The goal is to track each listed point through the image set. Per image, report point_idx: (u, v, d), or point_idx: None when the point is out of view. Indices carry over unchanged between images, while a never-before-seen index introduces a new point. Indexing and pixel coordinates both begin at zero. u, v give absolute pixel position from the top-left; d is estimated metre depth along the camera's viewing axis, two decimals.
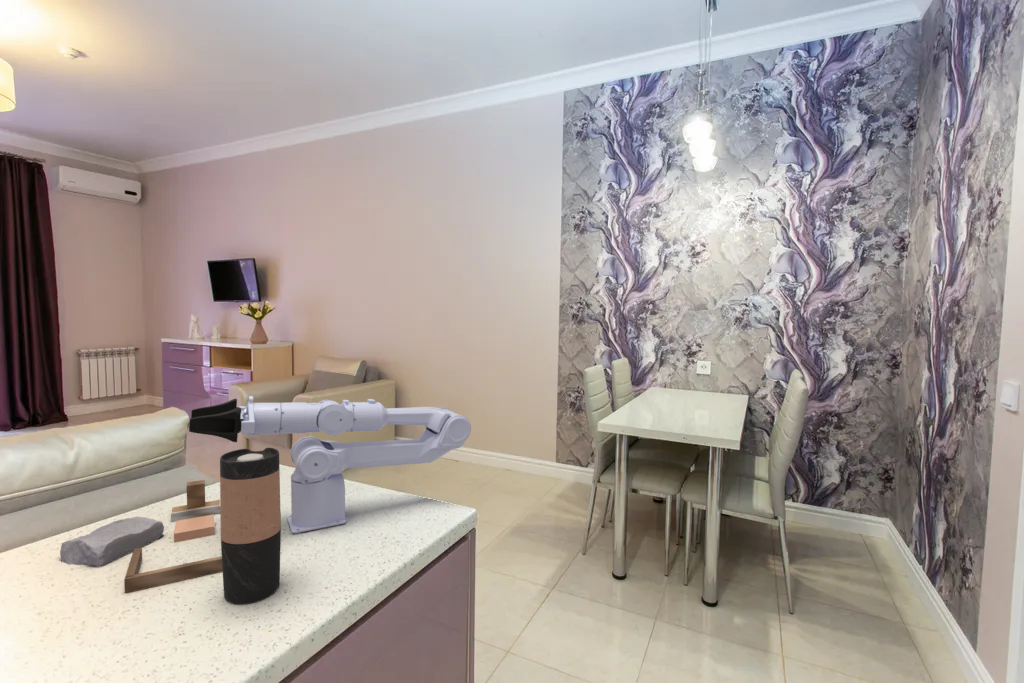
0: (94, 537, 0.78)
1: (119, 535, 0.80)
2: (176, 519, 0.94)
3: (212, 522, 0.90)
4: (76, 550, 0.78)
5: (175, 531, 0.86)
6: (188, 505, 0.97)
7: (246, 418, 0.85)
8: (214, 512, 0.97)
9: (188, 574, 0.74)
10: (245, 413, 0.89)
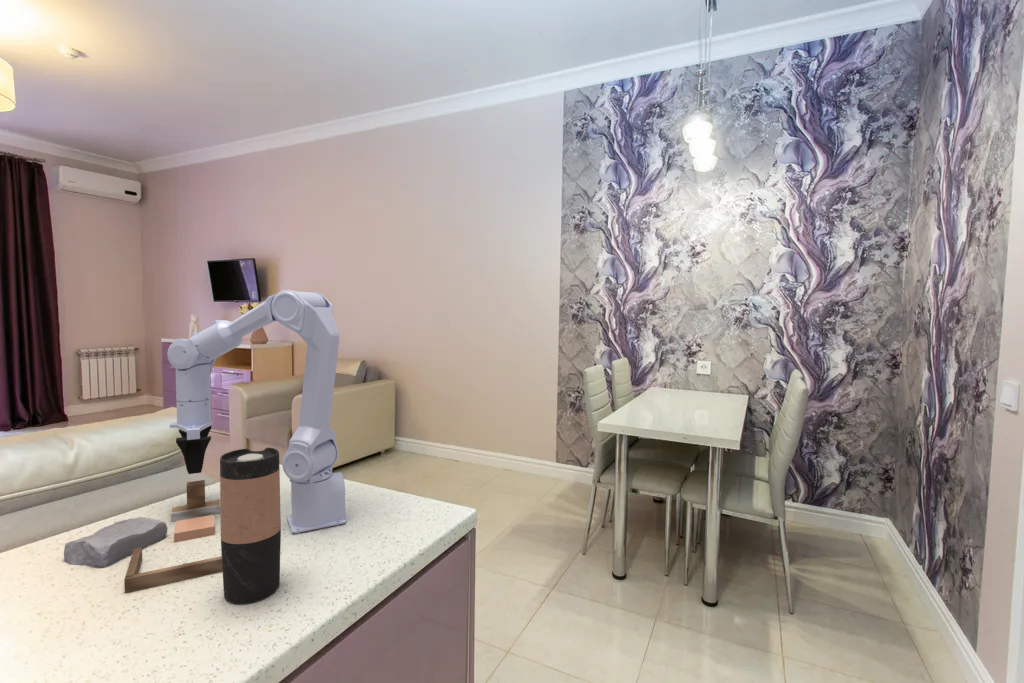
0: (98, 538, 0.78)
1: (123, 536, 0.80)
2: (176, 519, 0.94)
3: (212, 522, 0.90)
4: (80, 550, 0.78)
5: (175, 531, 0.86)
6: (188, 505, 0.97)
7: None
8: (214, 512, 0.97)
9: (188, 574, 0.74)
10: None
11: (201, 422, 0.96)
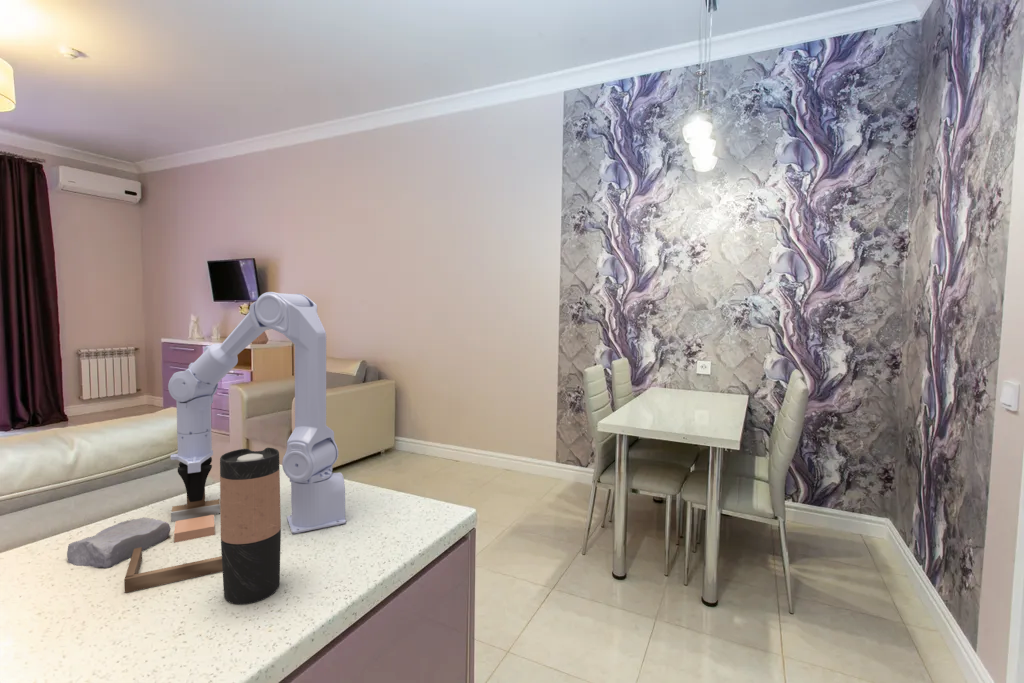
0: (101, 538, 0.78)
1: (126, 536, 0.80)
2: (176, 518, 0.94)
3: (212, 522, 0.90)
4: (84, 551, 0.78)
5: (175, 531, 0.86)
6: (188, 504, 0.97)
7: None
8: (214, 511, 0.97)
9: (188, 574, 0.74)
10: None
11: (202, 454, 0.96)
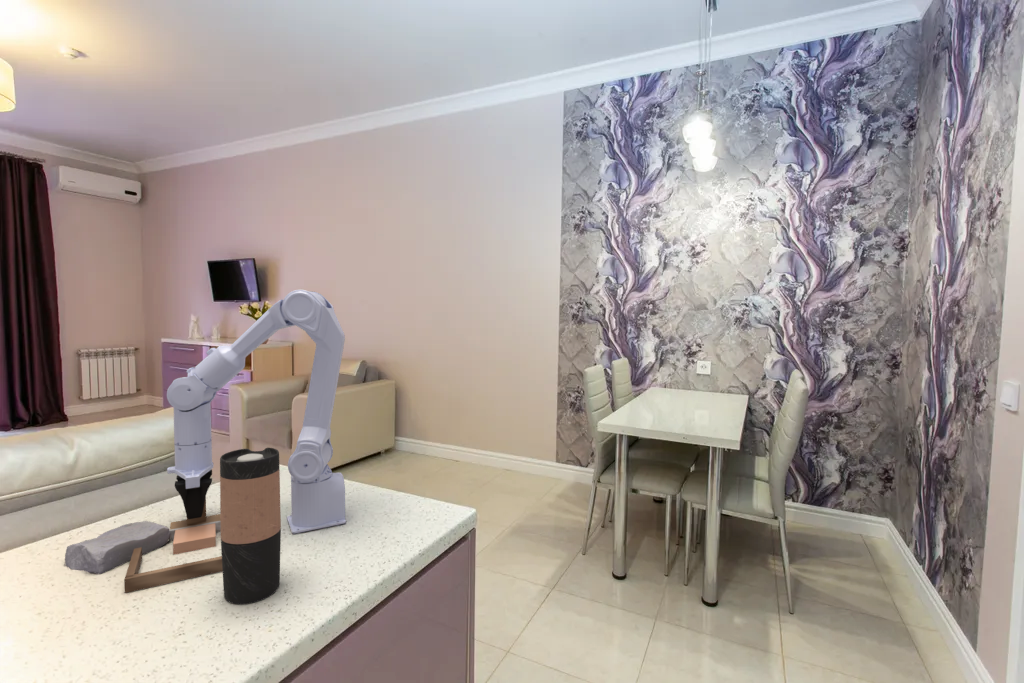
0: (95, 543, 0.77)
1: (120, 541, 0.78)
2: None
3: (213, 532, 0.86)
4: (79, 555, 0.77)
5: (174, 541, 0.82)
6: (188, 520, 0.89)
7: None
8: (216, 528, 0.90)
9: (188, 574, 0.74)
10: None
11: (201, 467, 0.89)
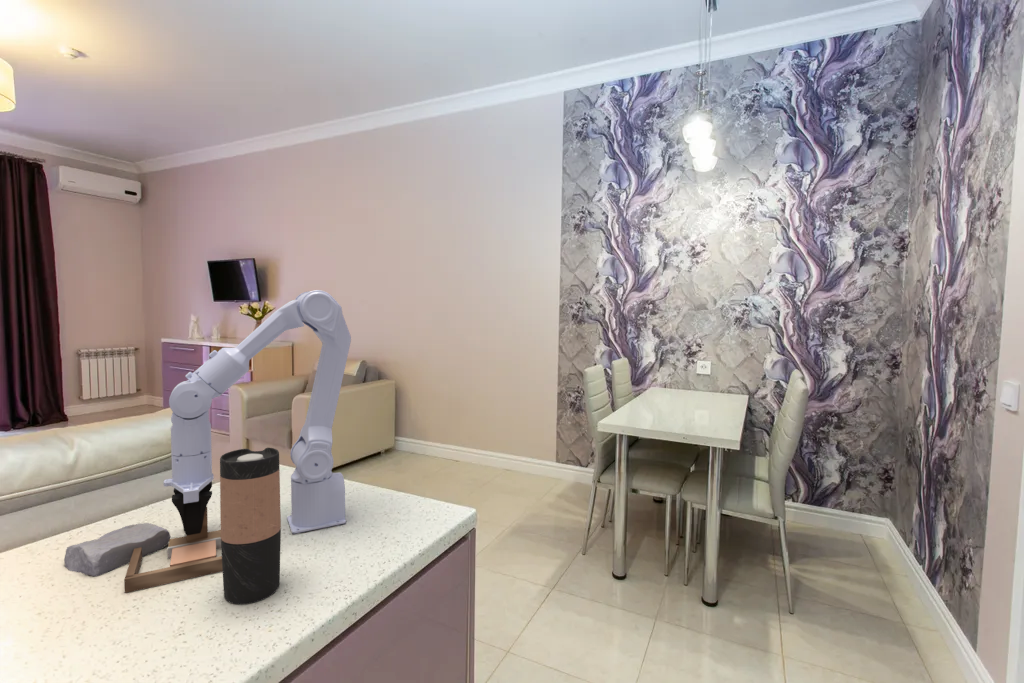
0: (92, 545, 0.76)
1: (117, 544, 0.77)
2: None
3: (214, 550, 0.80)
4: (77, 556, 0.76)
5: (171, 562, 0.76)
6: (188, 537, 0.83)
7: None
8: (218, 545, 0.83)
9: (188, 574, 0.74)
10: None
11: (200, 479, 0.82)
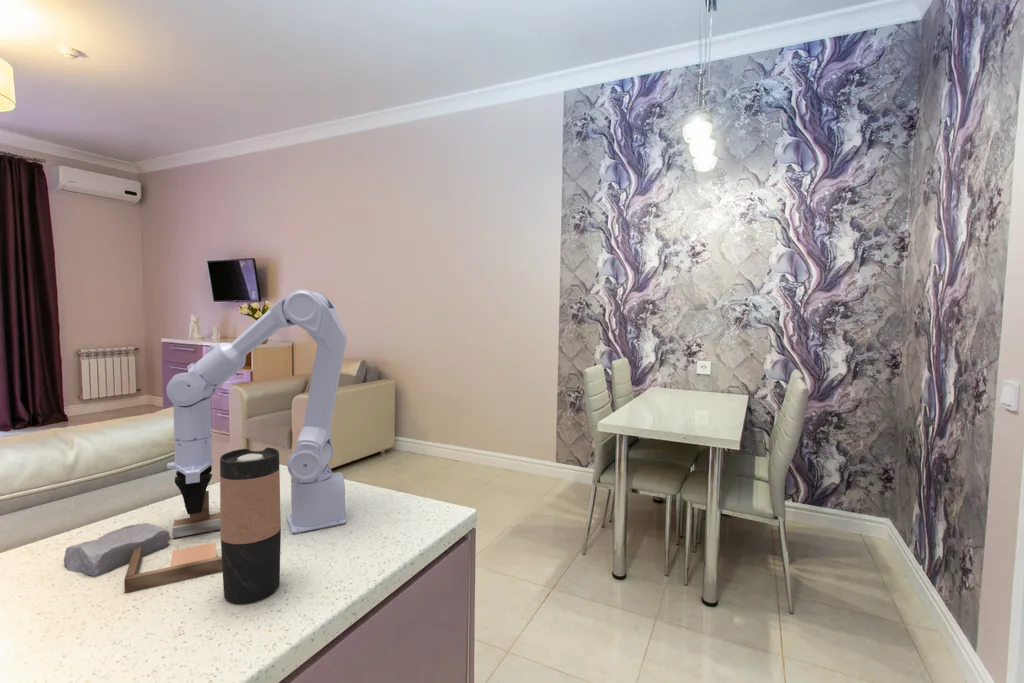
0: (92, 545, 0.76)
1: (118, 544, 0.77)
2: (178, 534, 0.87)
3: (214, 552, 0.79)
4: (77, 556, 0.76)
5: (171, 564, 0.75)
6: (191, 518, 0.90)
7: None
8: (219, 526, 0.90)
9: (188, 574, 0.74)
10: None
11: (201, 462, 0.89)
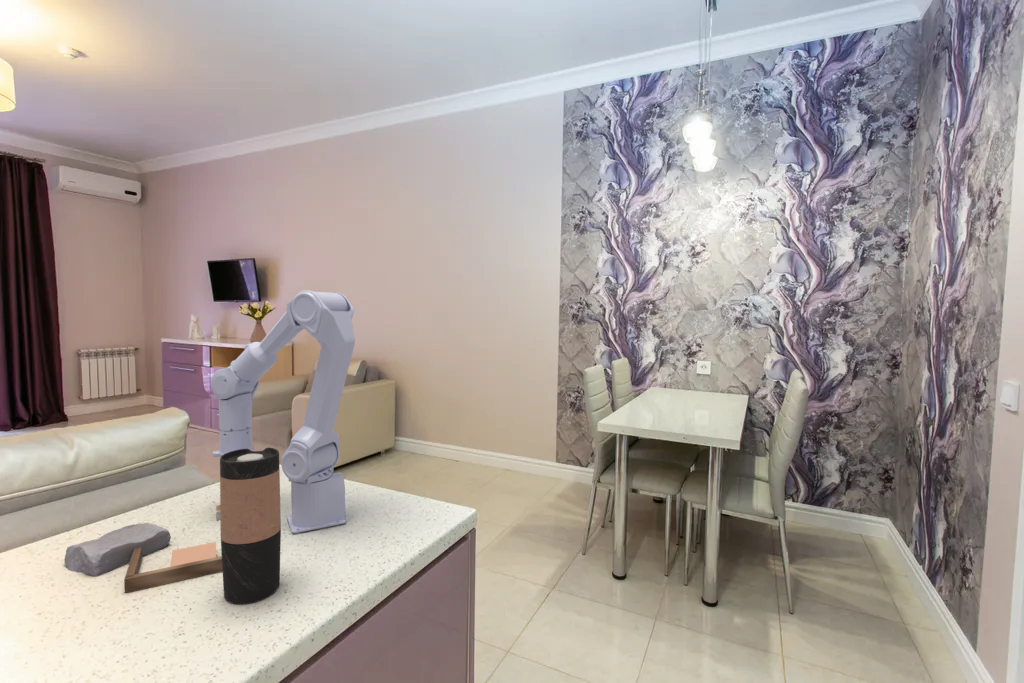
0: (93, 545, 0.76)
1: (118, 544, 0.77)
2: None
3: (214, 552, 0.79)
4: (77, 556, 0.76)
5: (172, 564, 0.75)
6: None
7: None
8: None
9: (188, 574, 0.74)
10: None
11: None
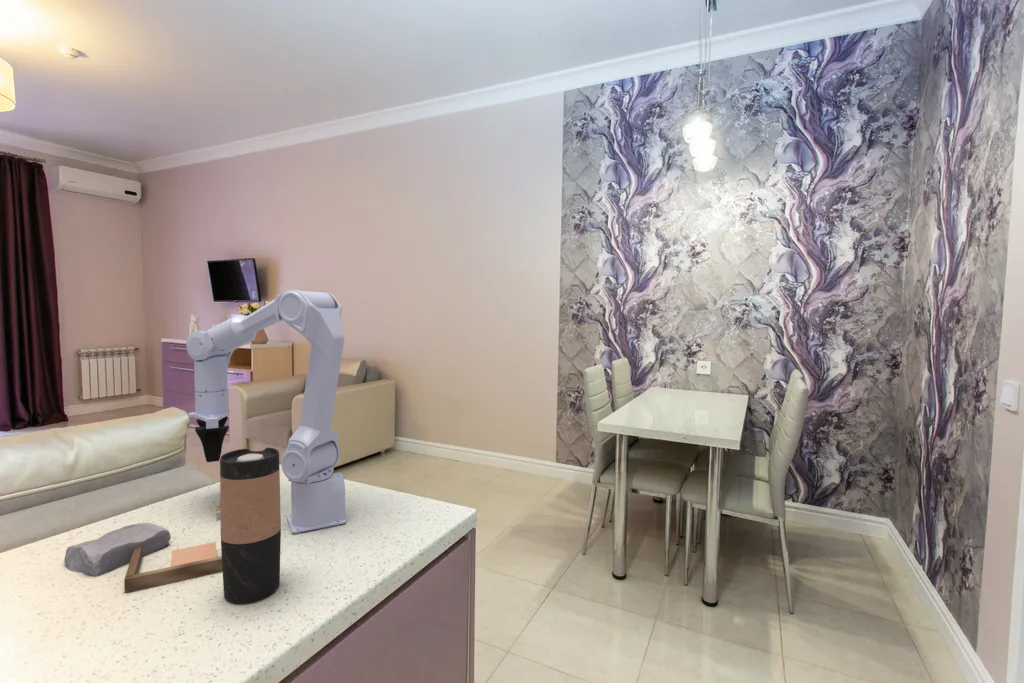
0: (93, 545, 0.76)
1: (118, 544, 0.77)
2: None
3: (214, 552, 0.79)
4: (77, 556, 0.76)
5: (172, 564, 0.75)
6: None
7: None
8: None
9: (188, 574, 0.74)
10: None
11: (219, 412, 0.99)
